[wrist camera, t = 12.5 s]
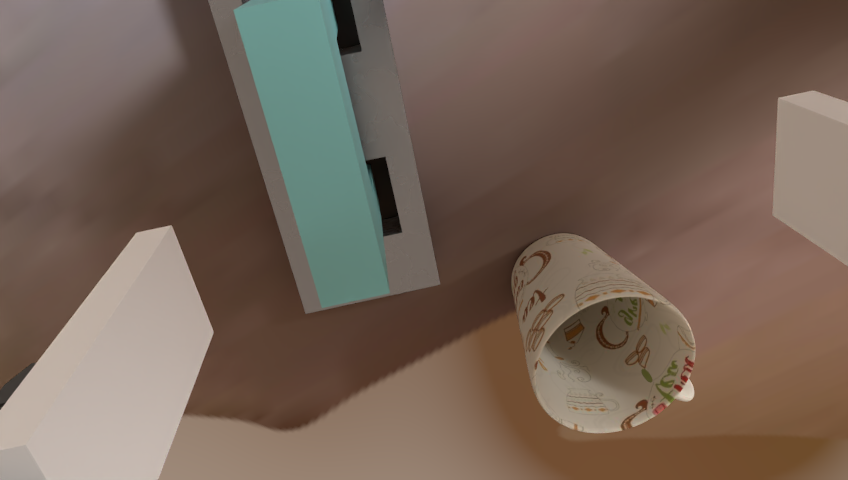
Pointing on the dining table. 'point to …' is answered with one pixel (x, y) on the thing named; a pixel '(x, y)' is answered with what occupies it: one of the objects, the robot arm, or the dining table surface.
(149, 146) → the dining table surface
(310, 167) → the panel
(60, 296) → the dining table surface
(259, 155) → the block
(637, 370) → the mug
